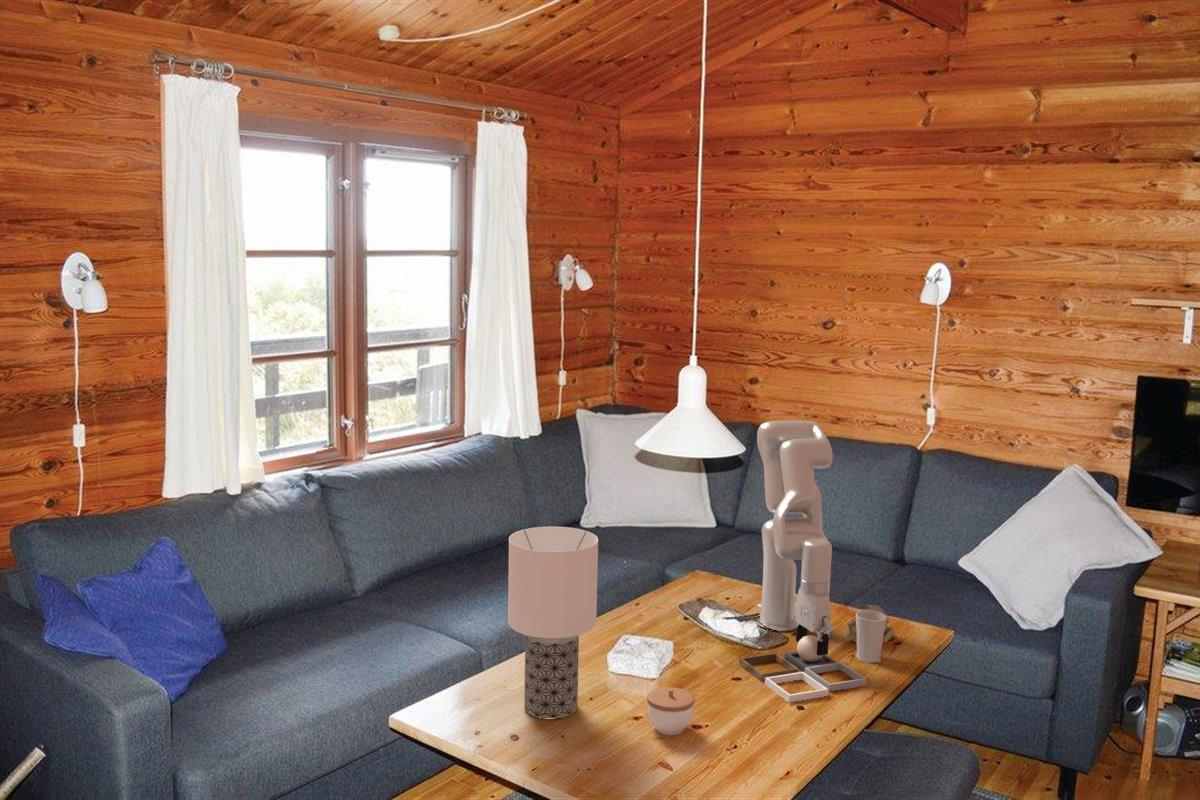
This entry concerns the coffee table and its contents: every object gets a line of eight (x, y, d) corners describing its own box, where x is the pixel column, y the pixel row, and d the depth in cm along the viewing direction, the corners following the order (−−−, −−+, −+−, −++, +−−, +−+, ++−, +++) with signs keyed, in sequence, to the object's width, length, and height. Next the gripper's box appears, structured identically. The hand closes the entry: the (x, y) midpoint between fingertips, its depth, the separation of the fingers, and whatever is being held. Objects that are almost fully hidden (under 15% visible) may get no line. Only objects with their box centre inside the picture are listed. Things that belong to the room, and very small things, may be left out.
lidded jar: (679, 744, 231) (680, 704, 229) (637, 731, 236) (638, 692, 235) (701, 726, 240) (702, 687, 238) (660, 714, 245) (661, 676, 244)
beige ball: (812, 668, 272) (814, 644, 271) (791, 659, 278) (792, 635, 277) (829, 662, 276) (831, 638, 275) (808, 653, 282) (809, 630, 281)
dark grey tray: (784, 658, 279) (784, 653, 279) (815, 654, 283) (816, 648, 283) (805, 673, 270) (805, 667, 270) (837, 668, 274) (837, 662, 274)
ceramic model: (869, 650, 287) (871, 615, 286) (836, 637, 296) (838, 603, 295) (900, 638, 296) (902, 605, 295) (867, 627, 305) (869, 594, 303)
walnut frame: (739, 664, 275) (739, 658, 275) (775, 659, 279) (775, 652, 279) (761, 681, 265) (761, 674, 264) (798, 675, 269) (799, 668, 269)
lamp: (554, 682, 261) (556, 521, 255) (612, 709, 247) (616, 540, 241) (489, 706, 247) (490, 537, 241) (547, 737, 233) (550, 557, 226)
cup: (880, 653, 285) (883, 611, 283) (885, 664, 277) (888, 621, 275) (851, 651, 286) (853, 609, 284) (855, 663, 278) (858, 620, 276)
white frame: (764, 684, 263) (765, 677, 263) (802, 678, 267) (802, 671, 267) (789, 702, 253) (789, 695, 252) (827, 696, 257) (828, 689, 257)
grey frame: (804, 674, 270) (804, 667, 269) (840, 668, 274) (840, 662, 274) (829, 691, 259) (829, 684, 259) (866, 685, 264) (866, 678, 263)
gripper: (785, 577, 280) (781, 637, 283) (821, 598, 264) (818, 662, 267) (808, 574, 283) (805, 634, 285) (846, 595, 267) (842, 658, 270)
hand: (811, 647), depth 276 cm, fingers open, 9 cm apart
